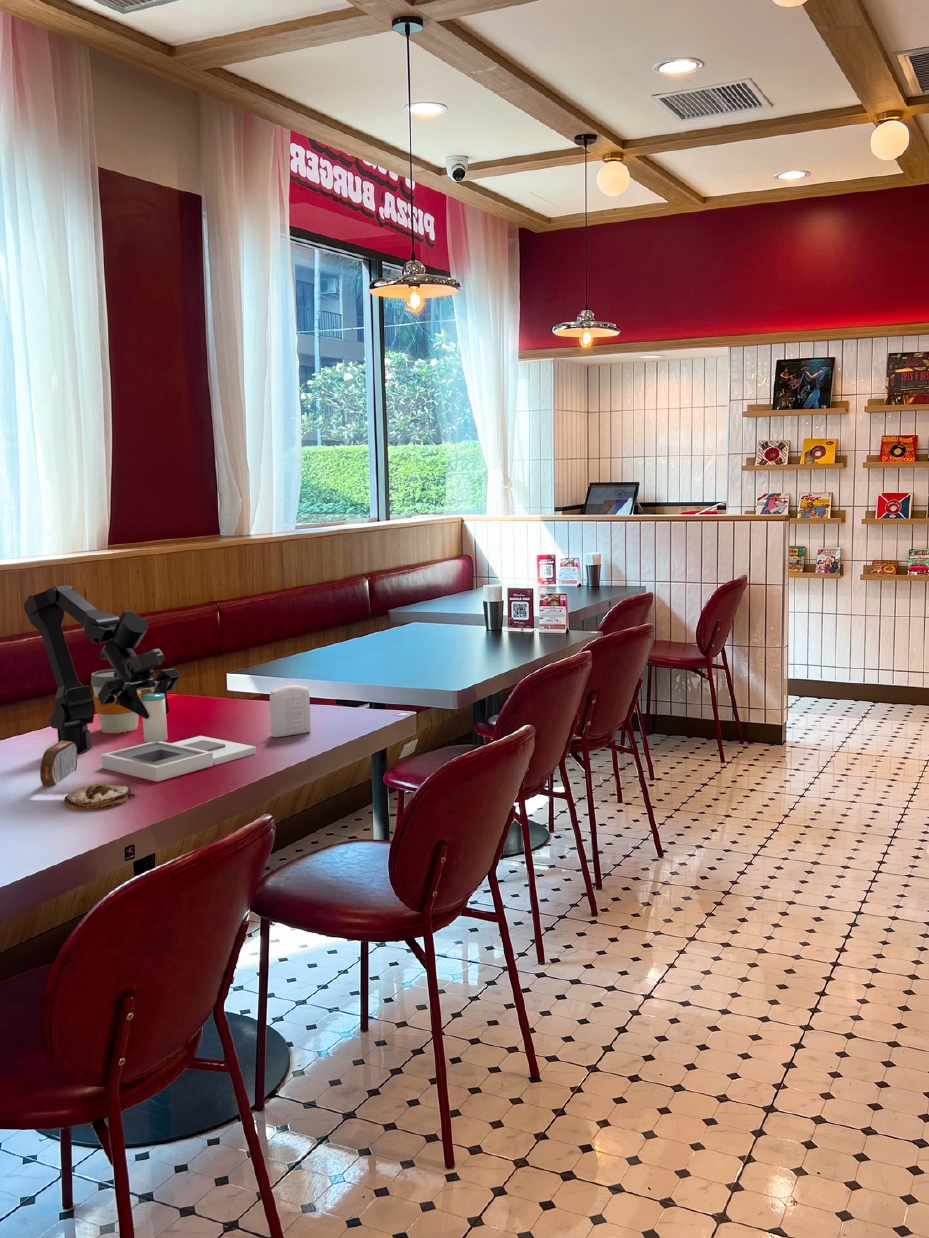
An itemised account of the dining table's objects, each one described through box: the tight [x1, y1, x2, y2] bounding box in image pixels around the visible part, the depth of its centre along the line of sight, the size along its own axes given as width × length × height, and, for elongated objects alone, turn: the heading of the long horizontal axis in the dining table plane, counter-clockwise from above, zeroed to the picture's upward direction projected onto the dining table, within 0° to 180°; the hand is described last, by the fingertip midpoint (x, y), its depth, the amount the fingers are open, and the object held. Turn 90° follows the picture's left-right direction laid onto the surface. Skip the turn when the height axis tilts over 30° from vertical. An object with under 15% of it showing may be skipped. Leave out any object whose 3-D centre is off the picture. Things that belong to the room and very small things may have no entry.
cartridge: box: [141, 692, 168, 743], centre depth 245 cm, size 5×5×10 cm
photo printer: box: [269, 684, 312, 738], centre depth 277 cm, size 10×4×12 cm, turn 123°
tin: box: [39, 741, 78, 787], centre depth 239 cm, size 15×3×8 cm, turn 178°
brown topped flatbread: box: [63, 783, 131, 811], centre depth 225 cm, size 15×15×4 cm
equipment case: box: [100, 735, 257, 783], centre depth 251 cm, size 20×28×4 cm
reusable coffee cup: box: [90, 668, 142, 734], centre depth 287 cm, size 13×13×15 cm
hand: (158, 715), depth 244 cm, fingers closed on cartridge, 5 cm apart
